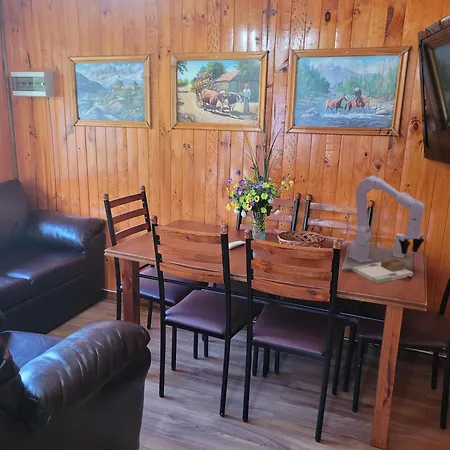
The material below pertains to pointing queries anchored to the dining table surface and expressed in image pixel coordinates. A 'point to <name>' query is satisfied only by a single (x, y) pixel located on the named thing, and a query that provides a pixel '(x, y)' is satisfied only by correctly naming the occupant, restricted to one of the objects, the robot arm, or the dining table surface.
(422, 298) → the dining table surface
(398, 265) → the walnut block
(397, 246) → the skincare box
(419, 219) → the robot arm
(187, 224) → the dining table surface
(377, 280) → the board
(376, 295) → the dining table surface
